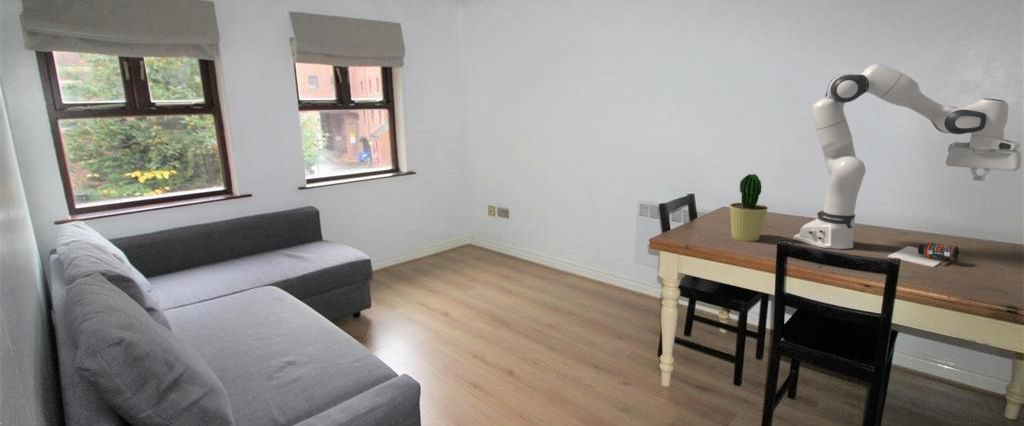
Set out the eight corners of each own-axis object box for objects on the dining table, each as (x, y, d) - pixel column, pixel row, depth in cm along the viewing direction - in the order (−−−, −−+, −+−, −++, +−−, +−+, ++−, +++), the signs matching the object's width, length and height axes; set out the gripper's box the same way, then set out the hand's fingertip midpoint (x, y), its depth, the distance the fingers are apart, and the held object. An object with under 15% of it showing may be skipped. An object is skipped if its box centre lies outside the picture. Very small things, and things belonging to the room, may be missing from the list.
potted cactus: (756, 233, 227) (763, 170, 220) (769, 242, 212) (777, 175, 205) (722, 232, 229) (728, 170, 222) (733, 242, 214) (740, 175, 207)
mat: (887, 257, 193) (887, 256, 193) (908, 247, 205) (908, 246, 205) (933, 267, 181) (933, 266, 181) (952, 256, 193) (952, 255, 193)
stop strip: (939, 264, 183) (939, 262, 183) (949, 258, 190) (950, 256, 190) (944, 266, 182) (944, 263, 182) (954, 259, 189) (955, 257, 188)
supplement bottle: (952, 251, 181) (915, 247, 190) (954, 264, 183) (917, 259, 192) (958, 242, 183) (921, 239, 193) (960, 255, 185) (923, 251, 195)
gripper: (946, 142, 185) (940, 178, 188) (1021, 145, 169) (1013, 184, 172) (952, 141, 189) (945, 176, 192) (1026, 144, 172) (1018, 182, 175)
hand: (978, 180), depth 182 cm, fingers closed
